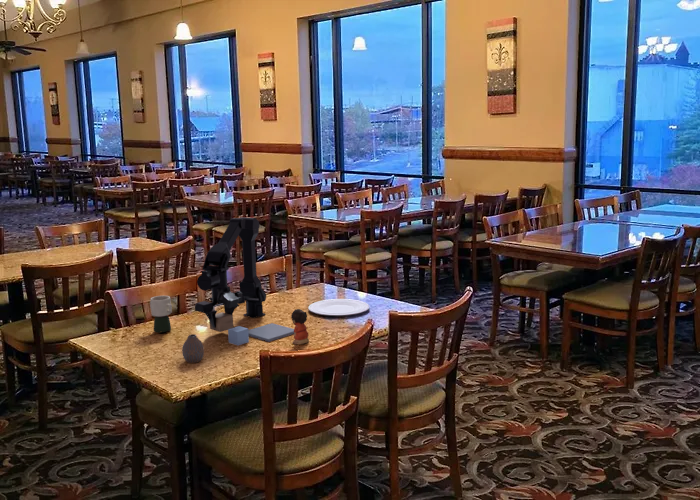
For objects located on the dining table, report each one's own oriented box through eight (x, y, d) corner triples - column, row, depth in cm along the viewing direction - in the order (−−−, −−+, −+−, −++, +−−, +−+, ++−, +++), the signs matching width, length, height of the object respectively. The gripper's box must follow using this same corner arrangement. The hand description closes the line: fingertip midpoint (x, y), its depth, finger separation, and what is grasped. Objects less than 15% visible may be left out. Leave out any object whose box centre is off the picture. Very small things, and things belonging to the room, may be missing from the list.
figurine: (312, 340, 250) (311, 307, 248) (306, 345, 245) (305, 311, 242) (295, 339, 252) (294, 306, 250) (289, 343, 247) (288, 310, 244)
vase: (184, 358, 234) (182, 332, 232) (205, 357, 234) (204, 331, 233) (181, 365, 227) (179, 339, 225) (203, 364, 227) (201, 338, 226)
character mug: (180, 331, 263) (178, 297, 261) (165, 336, 257) (163, 301, 255) (159, 327, 269) (157, 293, 266) (145, 332, 263) (142, 298, 261)
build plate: (243, 334, 258) (243, 331, 258) (272, 325, 268) (271, 323, 268) (268, 341, 249) (268, 339, 249) (297, 332, 259) (297, 330, 259)
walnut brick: (209, 328, 258) (209, 315, 257) (223, 325, 262) (222, 312, 261) (220, 332, 254) (219, 318, 253) (233, 328, 258) (232, 315, 257)
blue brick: (228, 342, 249) (228, 329, 248) (239, 339, 253) (239, 325, 252) (237, 345, 246) (237, 331, 245) (248, 342, 249) (248, 328, 248)
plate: (380, 307, 292) (380, 303, 292) (348, 322, 272) (348, 318, 271) (330, 300, 306) (330, 296, 305) (295, 314, 285) (295, 309, 284)
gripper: (212, 292, 243) (214, 336, 246) (253, 282, 256) (255, 324, 259) (192, 287, 250) (195, 330, 253) (234, 278, 264) (236, 318, 267)
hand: (221, 325), depth 258 cm, fingers closed on walnut brick, 6 cm apart
